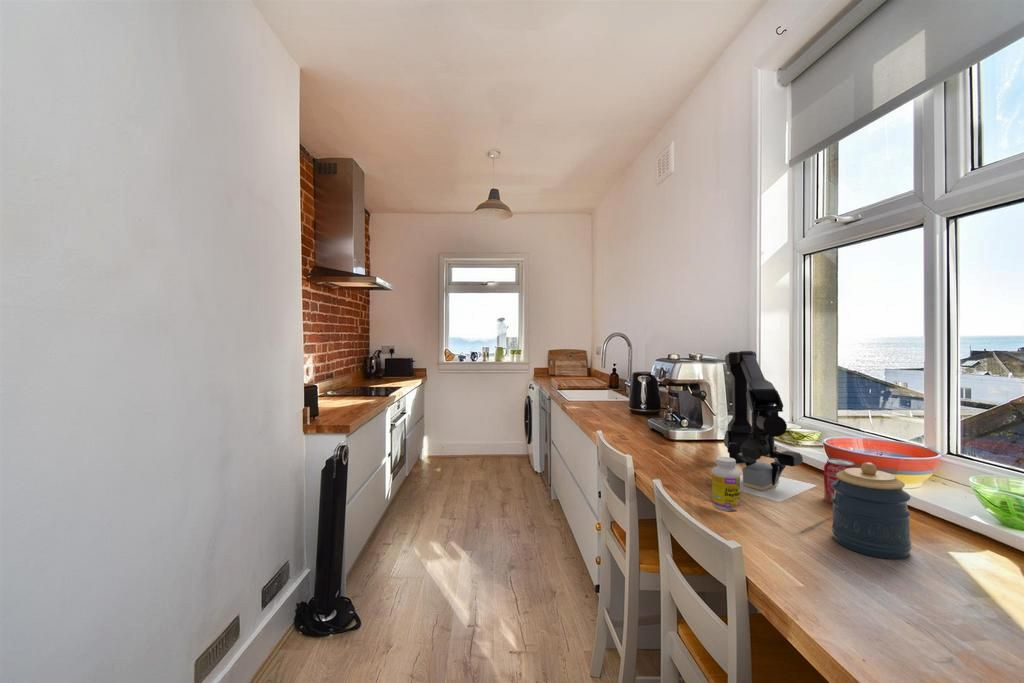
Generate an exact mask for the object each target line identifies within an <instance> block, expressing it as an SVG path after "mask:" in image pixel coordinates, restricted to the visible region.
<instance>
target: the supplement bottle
mask: <svg viewBox="0 0 1024 683" xmlns="http://www.w3.org/2000/svg"><path fill="white" fill-rule="evenodd" d="M715 463H716V466H714V467H713V468H712V470H711V491H712V492H711V493H712V494H711V497H712V500H711V501H712V503H711V504H712V506H713V507H714V508H715V509H717V510H720V511H722V512H730V513H731V512H732V513H733V512H738V509H734V508H735V507H739V506H740V505H741V491H740V475H741V473H740V471H739V470H738V469H737V468H736V465H737V463H736V460H735V459H733V458H730V457H729V456H717V457H716V458H715Z"/></svg>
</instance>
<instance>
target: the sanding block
mask: <svg viewBox="0 0 1024 683" xmlns="http://www.w3.org/2000/svg"><path fill="white" fill-rule="evenodd" d="M742 474H743V485H744V486H748V487H752V488H755V489H759V490H765V489H767V488H769V487H772V486H774V485H773V484H772V466H771V463H768V462H767V463H765V462H762V461H758V462H757V461H756V463H755V464H752V465H749V466H744V467H742ZM778 483H779V479H778V481H777V483H776V484H778Z"/></svg>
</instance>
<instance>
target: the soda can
mask: <svg viewBox="0 0 1024 683" xmlns="http://www.w3.org/2000/svg"><path fill="white" fill-rule="evenodd" d="M847 468H856V466H855V462H854V461H851V460H848V459H843V458H827V459H826V462H825V464H824V467H823V488H824V489H823V493H824V495H823V497H824V501H825V502H827V503H829V504H832V505H833V502H832V498H833V497H834V493H835V490H834V489H833V488H832V486H831V484H832V483H833V482H834V481H837V480H838V478H837V477H836V473H838V472H840V471H843V470H845V469H847Z"/></svg>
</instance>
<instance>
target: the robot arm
mask: <svg viewBox="0 0 1024 683" xmlns="http://www.w3.org/2000/svg"><path fill="white" fill-rule="evenodd" d="M758 362H759V361H758V360H757V354H756V351H754V350H740V351H729V352H728V353H727V354H726V355H725V357H724V363H725V365H726V370H727V372H728V373H729V374H730V376H731V377H732V378H731V379H732V380H731V382H732V383H731V384H732V387H731V388H732V390H731V391H732V396H731V397H732V398H731V400H732V406H731V407H732V418H731V420H730V421H729V423H727V430H726V431H725V434H724V437H723V446H725V448H727V453H728V457H730V458H733V459H735V460H736V464H745V467H747V466H749V465H752V464H755V463H757V460H760V459H761V458H762V457H765V458H770V459H774V461H773V462H771V463H770V464H771V466H772V484H773V485H776V483H777V481H778V479H779V477H781V474H782V473H783V471H784V470H785V468H786V466H788V467H797V466H800V465H801V464H803V463H804V462H803V456H802V454H801V453H800V452H795V451H790V450H784V451H781V452H776V451H777V450H778V449H777V446H776V445H775V438H776V437H781V436H783V435H784V434H785V433H786V432H787V429H788V425H787V423H786V421H785V419H784V418H783V417H781V416H779V413H780V412H781V413H783V412H784V409H783V408H784V404H783V401H782V398H781V396H780V394H779V392H778V390H777V389H776V387H775V386H774V384H773V383H772V382H771V381H769V380H767V379H766V378H765V376H764V374H763V372H762V369H761V367H760V365H759V364H760V363H758ZM748 406H749V408H750V411H751V422H749V421H748ZM750 423H751V424H750Z"/></svg>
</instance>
